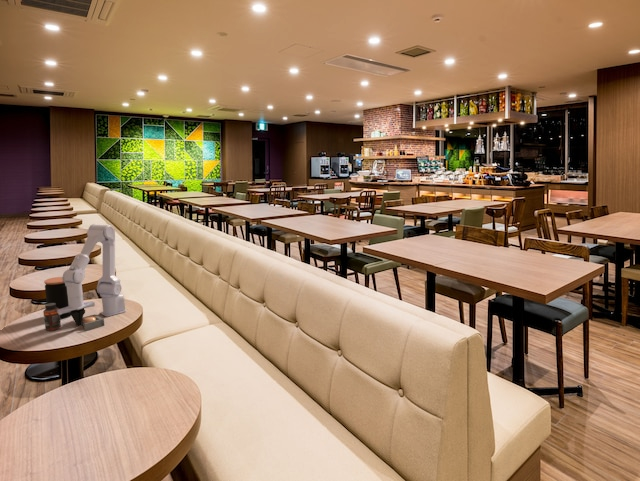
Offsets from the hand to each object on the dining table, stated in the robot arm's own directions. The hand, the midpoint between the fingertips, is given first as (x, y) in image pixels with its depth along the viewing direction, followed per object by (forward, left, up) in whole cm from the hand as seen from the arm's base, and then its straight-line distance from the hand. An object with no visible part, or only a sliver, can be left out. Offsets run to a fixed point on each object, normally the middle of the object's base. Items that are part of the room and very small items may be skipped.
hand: (78, 325), depth 186 cm
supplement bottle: (+7, -9, -2) cm, 12 cm away
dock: (-5, 0, -1) cm, 5 cm away
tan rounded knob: (-5, 0, -2) cm, 5 cm away
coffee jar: (-2, -24, -2) cm, 24 cm away
